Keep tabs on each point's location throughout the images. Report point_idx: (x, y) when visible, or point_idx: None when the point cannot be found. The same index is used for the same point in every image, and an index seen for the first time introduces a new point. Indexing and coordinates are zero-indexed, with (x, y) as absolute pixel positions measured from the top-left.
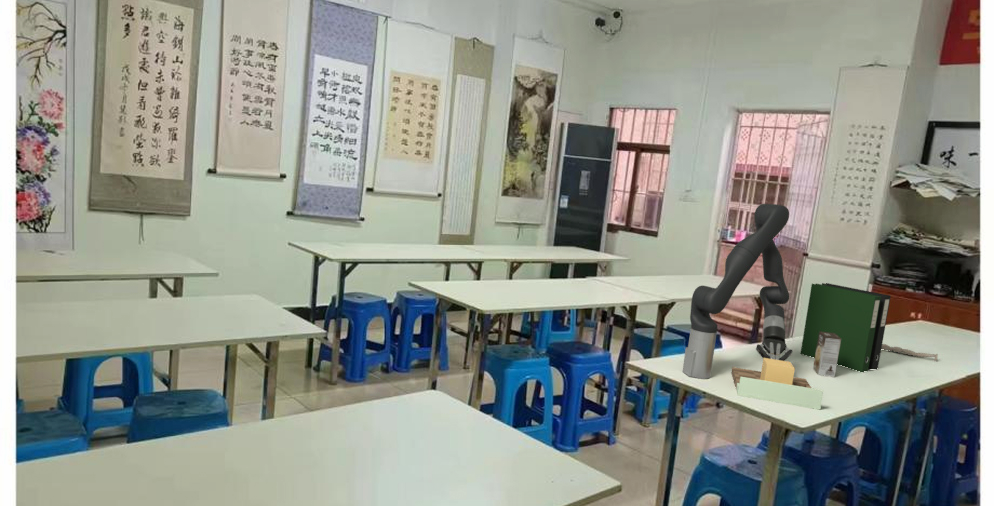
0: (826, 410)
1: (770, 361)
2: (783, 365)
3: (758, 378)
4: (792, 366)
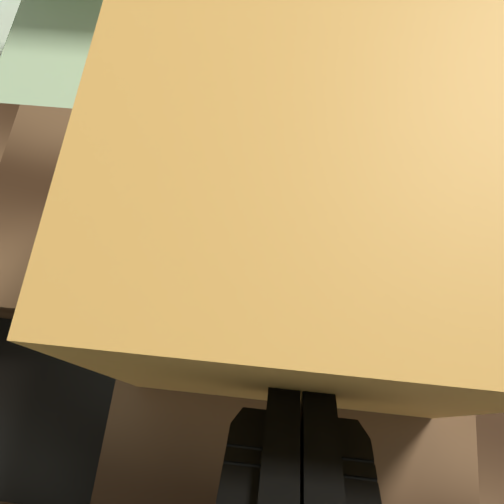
0: (11, 26)
1: (468, 151)
2: (263, 12)
3: (449, 440)
4: (110, 24)
